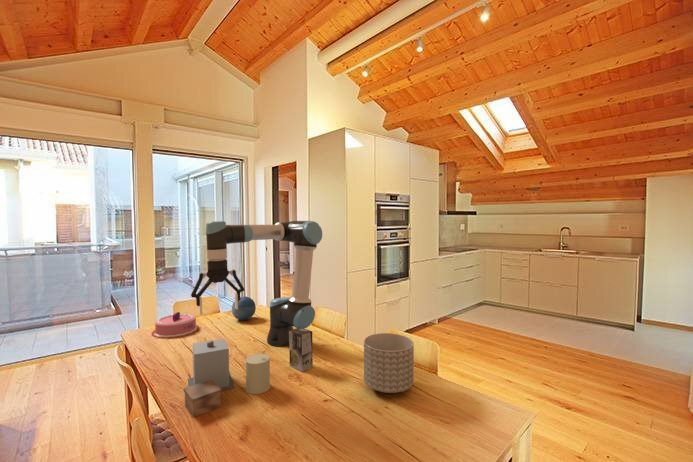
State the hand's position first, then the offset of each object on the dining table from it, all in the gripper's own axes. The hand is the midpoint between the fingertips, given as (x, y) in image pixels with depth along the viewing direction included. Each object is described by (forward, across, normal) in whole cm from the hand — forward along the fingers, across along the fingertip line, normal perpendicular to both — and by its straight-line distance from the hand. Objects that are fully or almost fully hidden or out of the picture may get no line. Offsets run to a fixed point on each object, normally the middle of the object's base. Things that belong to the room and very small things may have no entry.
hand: (219, 311), depth 136 cm
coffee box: (+29, -32, +6) cm, 44 cm away
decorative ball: (+29, -23, -76) cm, 85 cm away
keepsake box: (+27, +9, +19) cm, 35 cm away
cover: (+27, +4, +3) cm, 28 cm away
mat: (+28, +5, +3) cm, 28 cm away
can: (+28, -11, +16) cm, 34 cm away
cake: (+29, +16, -73) cm, 80 cm away
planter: (+29, -56, +39) cm, 74 cm away
